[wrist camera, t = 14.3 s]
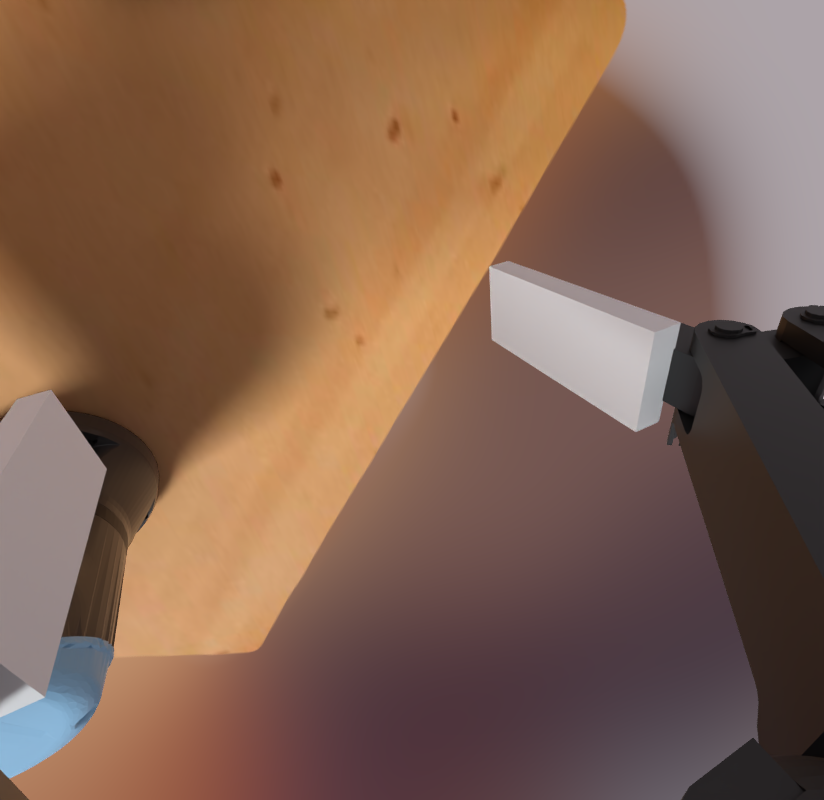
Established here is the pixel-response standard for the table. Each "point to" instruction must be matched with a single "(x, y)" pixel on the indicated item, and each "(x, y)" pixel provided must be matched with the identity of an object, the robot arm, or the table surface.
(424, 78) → the table surface
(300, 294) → the table surface
